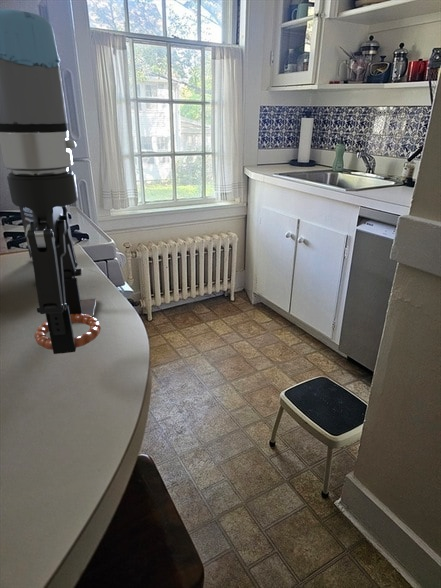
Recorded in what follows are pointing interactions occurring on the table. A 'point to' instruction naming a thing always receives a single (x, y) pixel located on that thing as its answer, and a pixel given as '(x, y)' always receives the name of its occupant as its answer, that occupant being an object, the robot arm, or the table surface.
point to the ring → (79, 341)
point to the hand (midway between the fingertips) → (69, 333)
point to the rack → (88, 306)
